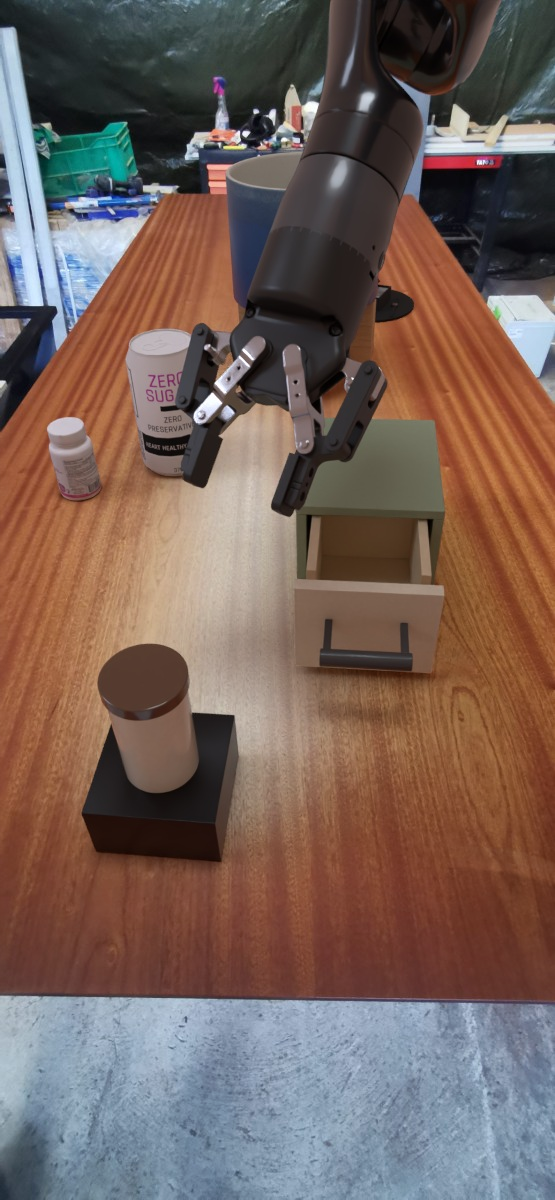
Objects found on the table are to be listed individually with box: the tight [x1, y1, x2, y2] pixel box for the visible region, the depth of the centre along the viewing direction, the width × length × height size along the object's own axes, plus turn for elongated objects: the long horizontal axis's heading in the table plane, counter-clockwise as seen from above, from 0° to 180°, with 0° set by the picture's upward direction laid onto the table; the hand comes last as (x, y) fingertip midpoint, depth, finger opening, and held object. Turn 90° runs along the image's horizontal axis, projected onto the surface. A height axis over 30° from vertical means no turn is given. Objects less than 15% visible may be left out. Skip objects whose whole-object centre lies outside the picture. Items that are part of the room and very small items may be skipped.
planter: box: [225, 151, 380, 363], centre depth 98 cm, size 19×19×26 cm
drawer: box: [293, 515, 445, 674], centre depth 63 cm, size 19×12×9 cm, turn 174°
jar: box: [96, 643, 199, 793], centre depth 49 cm, size 6×6×9 cm
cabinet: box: [295, 417, 446, 585], centre depth 73 cm, size 16×13×11 cm
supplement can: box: [125, 328, 193, 477], centre depth 85 cm, size 8×8×15 cm
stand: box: [80, 711, 240, 862], centre depth 53 cm, size 9×9×5 cm
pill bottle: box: [46, 416, 102, 501], centre depth 83 cm, size 5×5×8 cm
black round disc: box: [375, 278, 415, 323], centre depth 124 cm, size 15×15×6 cm
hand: (236, 497), depth 48 cm, fingers open, 6 cm apart
